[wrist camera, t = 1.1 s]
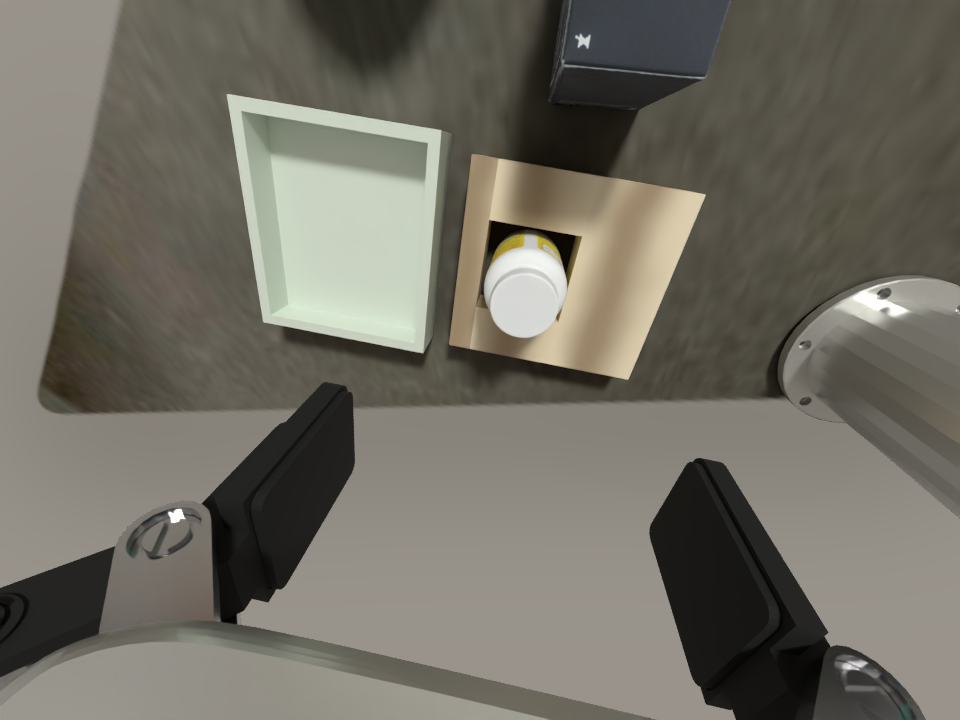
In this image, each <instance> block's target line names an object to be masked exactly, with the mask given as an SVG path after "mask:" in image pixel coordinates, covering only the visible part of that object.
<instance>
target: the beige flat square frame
mask: <svg viewBox="0 0 960 720" xmlns="http://www.w3.org/2000/svg"><path fill="white" fill-rule="evenodd" d="M704 198H705V194H700V193H696V192H691V191H686V190H680V189H674V188H668V187H662V186H657V185H651V184H645V183H639V182H633V181H628V180H622V179H616V178H610V177H604V176H599V175H593V174H587V173H581V172H575V171H570V170H564V169H558V168H552V167H546V166H541V165H535V164H529V163H523V162H517V161H512V160H506V159H500V158H494V157H489V156H483V155H475V154H472V158H471V166H470V175H469V183H468V191H467V200H466V208H465V216H464V224H463V233H462V241H461V249H460V258H459V266H458V274H457V283H456V291H455V299H454V308H453V316H452V324H451V333H450V341H449V345H453V346H458V347H463V348H468V349H473V350H478V351H483V352H489V353H494V354H499V355H504V356H509V357H514V358H519V359H525V360H530V361H535V362H540V363H545V364H550V365H555V366H561V367H566V368H571V369H576V370H581V371H586V372H591V373H597V374H602V375H607V376H612V377H617V378H622V379H627V380H628V379H629V377H630V375H631V372H632V370H633V367H634V365H635V363H636V360H637V358H638V355H639V353H640V351H641V348H642V346H643V344H644V341H645V339H646V336H647V334H648V332H649V329H650V327H651V324H652V322H653V320H654V317H655V315H656V312H657V310H658V308H659V305H660V303H661V301H662V298H663V296H664V293H665V291H666V289H667V286H668V284H669V281H670V279H671V277H672V274H673V272H674V269H675V267H676V265H677V262H678V260H679V258H680V255H681V253H682V250H683V248H684V246H685V243H686V241H687V238H688V236H689V234H690V231H691V229H692V226H693V224H694V222H695V219H696V217H697V215H698V212H699V210H700V207H701V205H702V203H703V200H704ZM492 220H493V221H498V222H504V223H509V224H515V225H520V226H526V227H532V228H537V229H543V230H548V231H554V232H559V233H565V234H571V235H576V238H575V241H574V245H573V249H572V252H571V256H570V260H569V263H568V267H567V271H566V280H567V295H566V299H565V302H564V305H563V307H562V309H561V310H560V312H559V313H558V314H557V316H556V319H555V321H554V322H553V324H552V325H551V326H550V327H549V328H548V329H547V330H546V331H545V332H543V333H541V334H539V335H537V336H534V337H530V338H519V337H514V336H511V335H509V334H507V333H505V332H503V331H502V330H501V329H500V328H499V327H498V326H497V325H496V324H495V322H494V320H493V318H492V316H491V312H490V310H489V308H488V306H487V304H486V301H485V297H484V295H481V290H482V284H483V278H484V271H485V265H486V259H487V252H488V246H489V240H490V233H491V227H492Z"/></svg>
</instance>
